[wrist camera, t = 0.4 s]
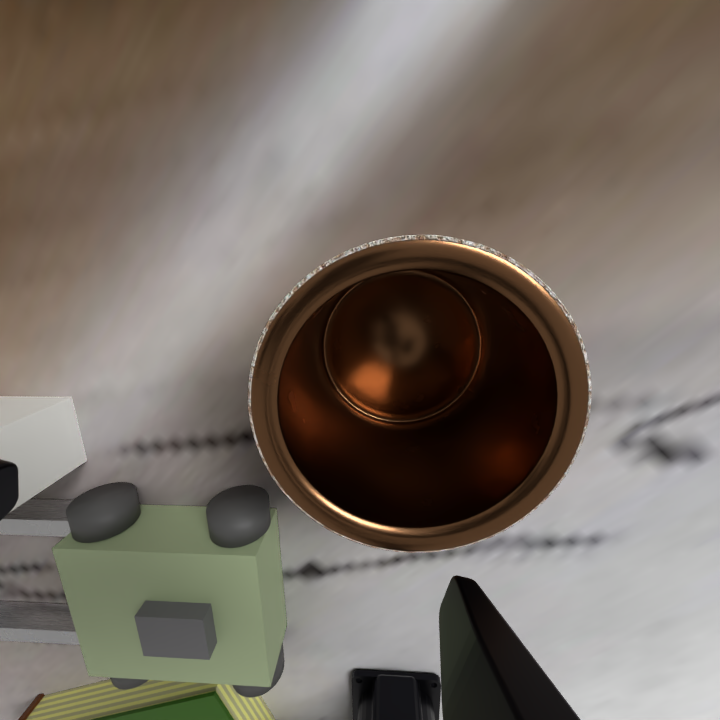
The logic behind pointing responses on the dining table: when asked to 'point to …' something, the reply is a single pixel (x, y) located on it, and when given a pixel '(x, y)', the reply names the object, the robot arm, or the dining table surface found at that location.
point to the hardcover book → (148, 703)
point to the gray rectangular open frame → (29, 616)
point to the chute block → (39, 440)
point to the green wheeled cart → (176, 588)
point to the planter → (419, 393)
